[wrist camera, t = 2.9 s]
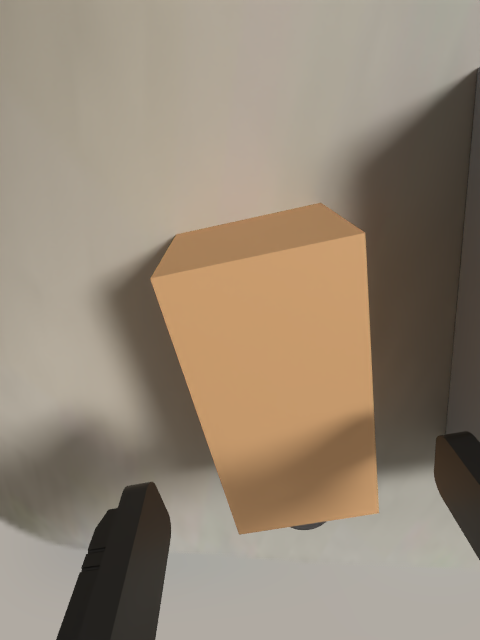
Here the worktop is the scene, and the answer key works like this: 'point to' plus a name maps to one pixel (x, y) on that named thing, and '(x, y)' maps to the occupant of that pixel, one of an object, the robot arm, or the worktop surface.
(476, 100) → the stand
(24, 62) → the worktop surface
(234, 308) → the block
